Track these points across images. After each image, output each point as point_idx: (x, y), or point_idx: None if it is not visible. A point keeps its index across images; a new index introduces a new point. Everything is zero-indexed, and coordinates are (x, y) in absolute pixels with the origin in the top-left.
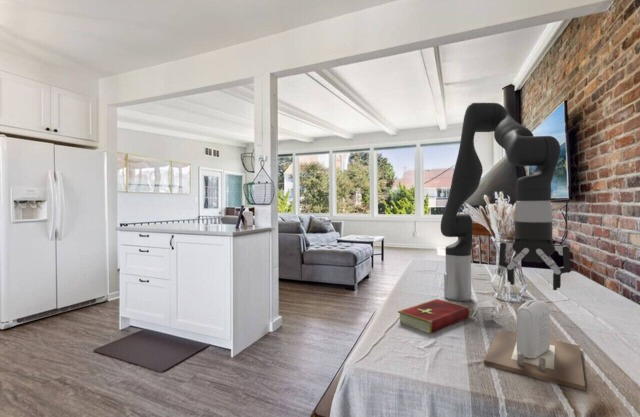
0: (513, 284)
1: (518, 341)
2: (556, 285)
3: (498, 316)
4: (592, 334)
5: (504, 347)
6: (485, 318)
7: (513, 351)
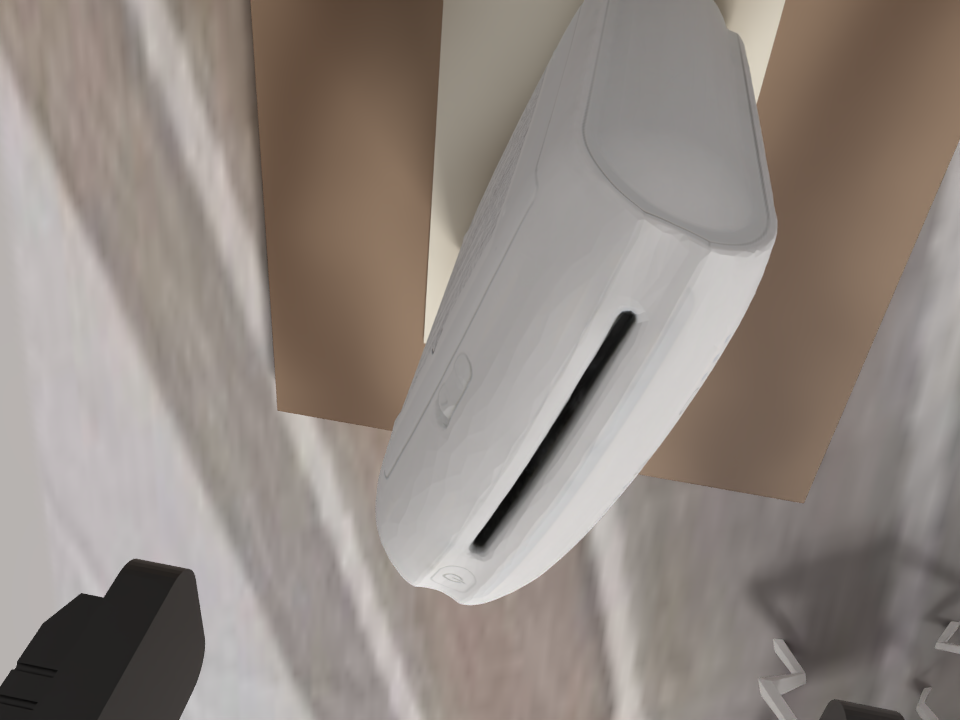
0: (841, 702)
1: (734, 67)
2: (92, 624)
3: (775, 681)
4: (231, 615)
5: (828, 152)
6: (854, 690)
7: (760, 87)
